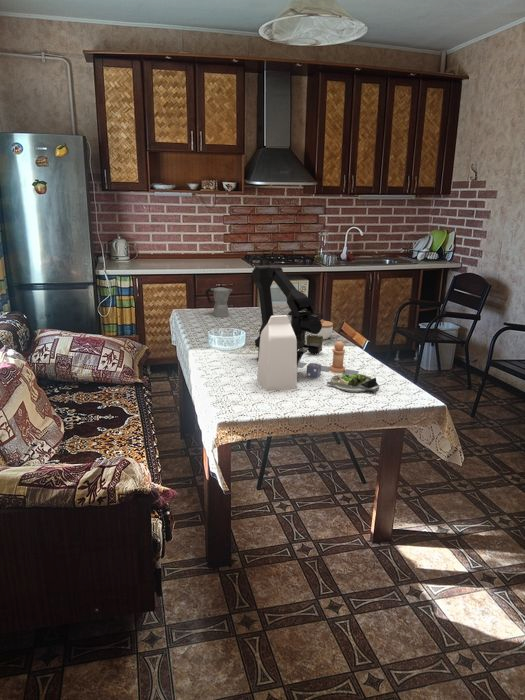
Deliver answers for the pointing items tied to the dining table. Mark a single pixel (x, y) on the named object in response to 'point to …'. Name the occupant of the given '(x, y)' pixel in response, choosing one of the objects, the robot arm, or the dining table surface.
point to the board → (328, 369)
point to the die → (313, 370)
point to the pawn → (338, 358)
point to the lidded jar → (325, 329)
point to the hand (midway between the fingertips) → (296, 366)
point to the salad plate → (354, 383)
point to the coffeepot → (219, 300)
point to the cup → (314, 340)
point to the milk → (277, 355)
